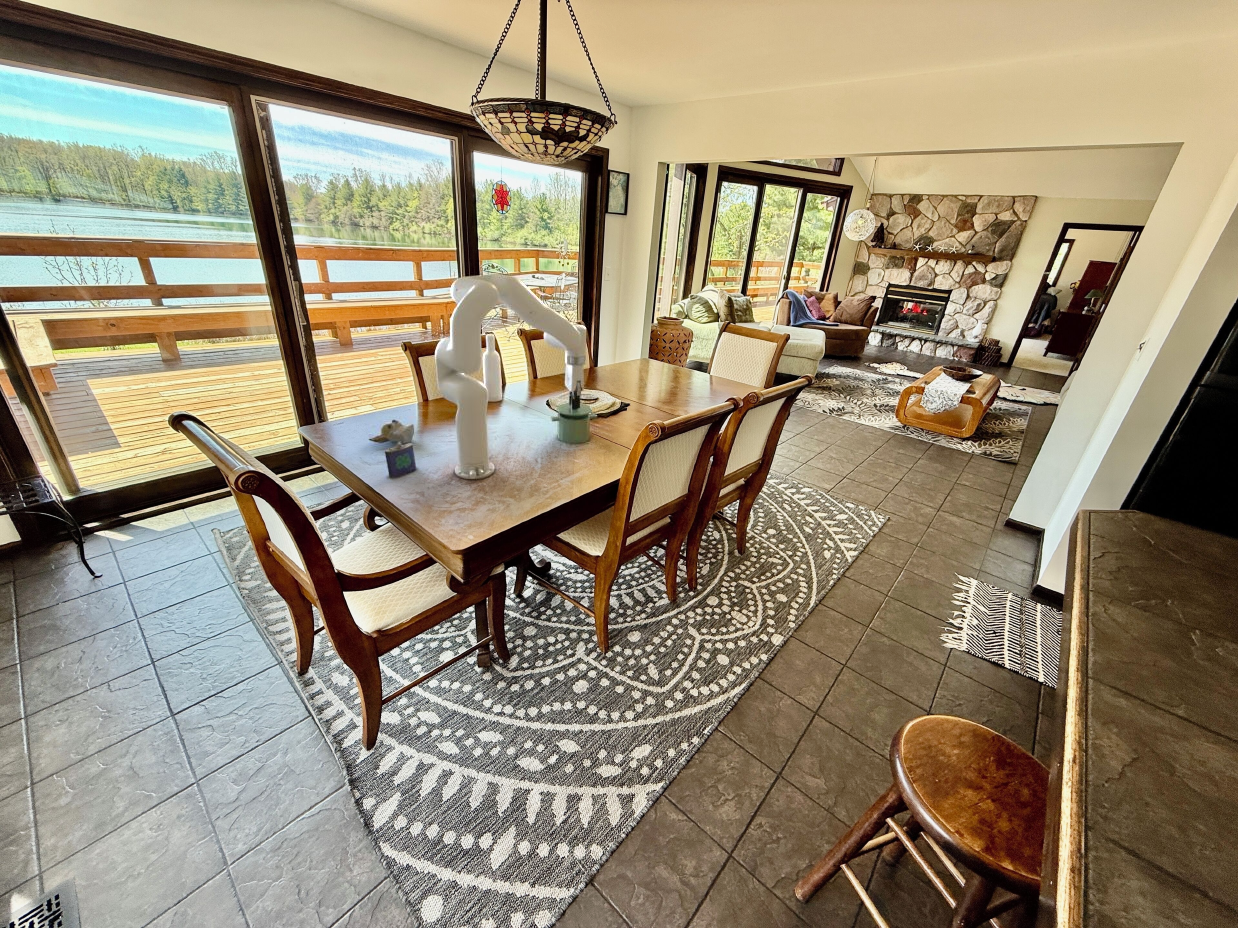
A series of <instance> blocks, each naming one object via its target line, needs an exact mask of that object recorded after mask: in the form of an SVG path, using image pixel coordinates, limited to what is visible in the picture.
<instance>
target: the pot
mask: <svg viewBox="0 0 1238 928" xmlns="http://www.w3.org/2000/svg"><path fill="white" fill-rule="evenodd" d="M570 419H574V420H570ZM591 419H593V420H594V419H598V415H597V414H595V413H589V414H586V415H581V416H571V415H565V414H562V413H559V412H557V416H550V420H551V422H557V432H556V434H557V435H556V436H557V439H558V440H559V441H561V442H563V443H566V444H574V445H575V444H583V443H585V442H587V441H589V440H590V437H591Z"/></svg>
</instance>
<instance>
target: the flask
mask: <svg viewBox="0 0 1238 928" xmlns="http://www.w3.org/2000/svg"><path fill="white" fill-rule="evenodd" d="M396 443H397V445H395V446H394V447H392V448H391V447H389V448H387V449H386V450H384V454H385V455H384V456H385V460H386V461H385V462H386V466H387V467H386V468H387V471H388V477H389V478H390V479H395V478H399V477H401V476H405V475H406V474H410V473H412V472H414V471H416V470H417V464H416V456H415V450H414V444H413V443H411V442H410V443H407V444H406V443H404V442H402V441H398V442H396ZM403 443H404V444H403Z"/></svg>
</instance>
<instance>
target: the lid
mask: <svg viewBox="0 0 1238 928" xmlns="http://www.w3.org/2000/svg"><path fill="white" fill-rule="evenodd" d="M572 398H573V393H571V406H570V405H569V402H566V403H562V404H559V405H558V406H556V411H557V413H562V414H565V415H571V416H581V415H586V414H592V412H593V408H592V406H590V405H588V404H586V403H581V402H580V408H577V409H572Z"/></svg>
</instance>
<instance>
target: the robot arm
mask: <svg viewBox="0 0 1238 928" xmlns="http://www.w3.org/2000/svg"><path fill="white" fill-rule="evenodd" d="M450 295H451V298H452V300H453V301H454V302H455V303H456V304H457V305H456V307H455V308H454V310H453V312H452V314H451V316H450V324H449V325H450V326H449V327H450V329H449V330H450V336H446V337H444V338H442V339H441V340H440V341H439V342H438V344H437V345H436V348H435V351H434V361H435V362H434V363H435V371H436V372H435V373H436V383H437V389H438V392H439V394H440V396H442V398H444V399H445V400H447V401H449V402H451V403H453V404H455V405H457V411H456V414H455V419H454V424H455V433H456V442H457V455H458V464H456V466H455V467H454V473H455V475H456V476H457V477H459V478H461V479H466V480H479V479H483V478H486V477H490V476H491V475H492V474H493V473H494V472H495V465H494V464H493V462H491V461H490V452H489V438H488V437H489V435H488V421H487V419H488V417H487V413H488V412H487V411H488V402H489V401H488V391H487V388H486V387H485V385H484V382H482V381H481V380H479V379H476V378H475V377H472V376H470V375H473V374H476V373H478V372H479V371H480V370H481V368H482V366H483V351H482V324H483V322H484V320H485V318H486V316H487V315H489V313H490V312H491V311H492V310H494V308H495V307H496V306H497V304H498V303H499V304H503V305H505V306H507V308H509V309H510V310H511V311H512V312H513V313H514V314H515V315H516V316H517V317H518V318H520V319H521V320H522V321H523V322H524V323H525V324H527V325H528V326H530V327H532V328H534V329H536V330H538V331H540V332H542V333H543V340H544V342H545V343H546V344H547V345H548V346H550V347H551V348H555V349H559V350H564V353H565V354H564V364H565V371H564V372H565V373H564V386H565V387H566V388H567V390H568V403H569V405H570V406H571V393H573V398H572V409H577V408H580V403H581V396H582V392H583V391H584V389H585V388H584V386H585V373H584V372H585V370H584V366H585V365H586V357H587V328H586V327H585V326H584V325H582V324H577V323H576V324H572V322H571V321H570V320H569V319H567V318H566V317H564V316H563V315H562V314H560V313H558V312H557V311H555V310H554V309H553V308H551V307H549V306H548V305H546V304H545V303H543V301H542V300H541V299H540V298H539V297H538V296H537V295H536V294H535V293H534V292H533V291H532V290H531V289H530V288H529V287H528V286H527V285H526V284H525V283H524V282H523V281H522V280H521V279H519V278H518V277H516V276H514V275H513V276H512V275H506V274H500V273H490V274H481V275H470V276H469V275H468V276H461V277H458V278H457V279H455V280H454V281H453V283H452V284H451V287H450Z"/></svg>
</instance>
